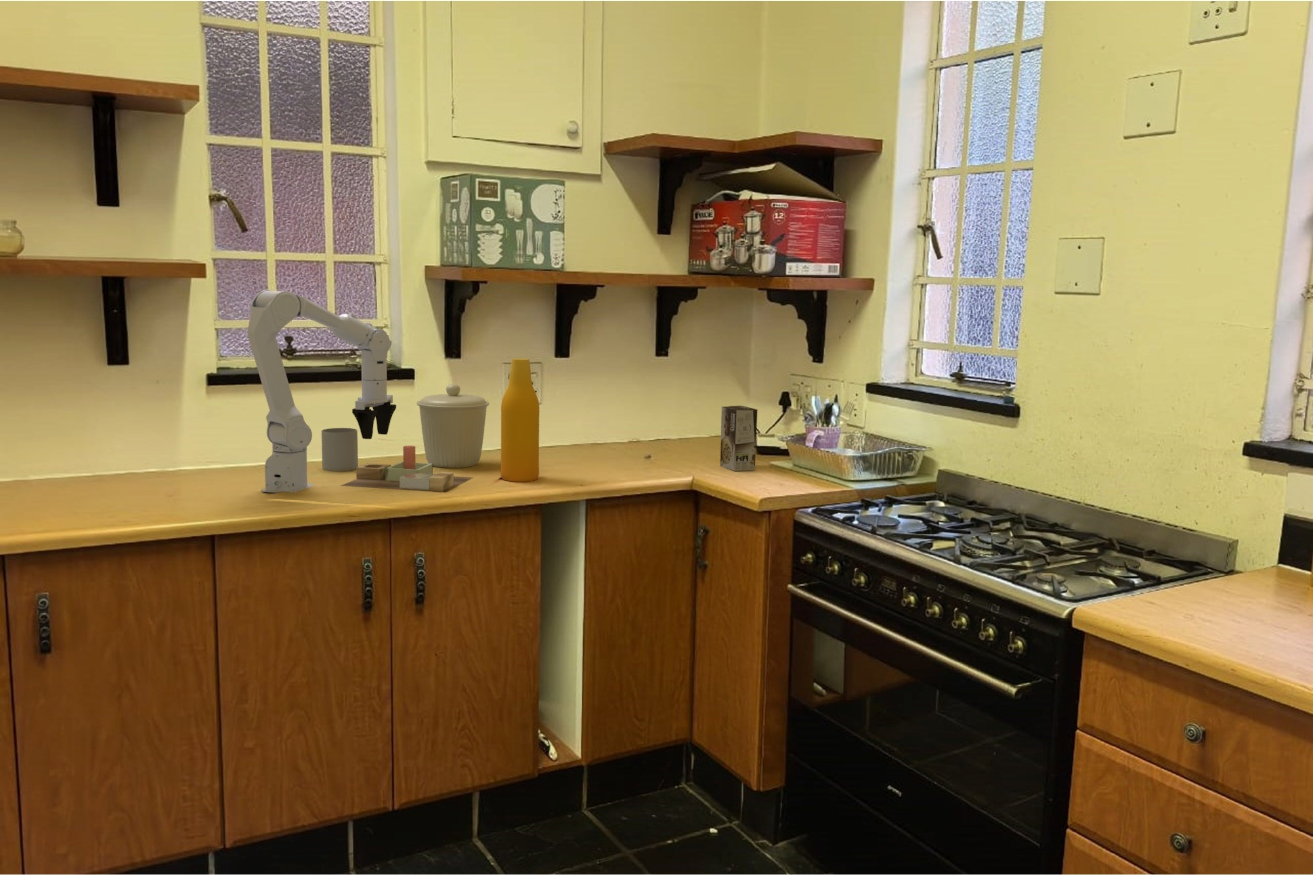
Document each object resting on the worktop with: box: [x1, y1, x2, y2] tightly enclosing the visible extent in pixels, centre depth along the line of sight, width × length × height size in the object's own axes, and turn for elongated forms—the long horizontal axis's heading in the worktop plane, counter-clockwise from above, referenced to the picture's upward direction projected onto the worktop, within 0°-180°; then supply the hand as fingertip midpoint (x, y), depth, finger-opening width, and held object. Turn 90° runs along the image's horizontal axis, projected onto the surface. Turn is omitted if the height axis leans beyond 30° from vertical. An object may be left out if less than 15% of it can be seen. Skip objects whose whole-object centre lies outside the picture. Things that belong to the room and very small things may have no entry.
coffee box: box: [719, 405, 759, 472], centre depth 274 cm, size 9×6×16 cm
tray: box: [385, 461, 434, 481], centre depth 247 cm, size 9×8×3 cm
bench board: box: [340, 463, 474, 493], centre depth 243 cm, size 18×26×4 cm
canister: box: [416, 383, 490, 469], centre depth 266 cm, size 18×18×21 cm
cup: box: [320, 427, 359, 472], centre depth 257 cm, size 8×8×10 cm
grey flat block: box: [400, 473, 437, 490], centre depth 237 cm, size 6×7×2 cm
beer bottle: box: [500, 357, 540, 483], centre depth 251 cm, size 9×9×29 cm
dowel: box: [402, 445, 417, 469], centre depth 247 cm, size 3×3×7 cm
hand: (375, 436), depth 248 cm, fingers open, 7 cm apart
